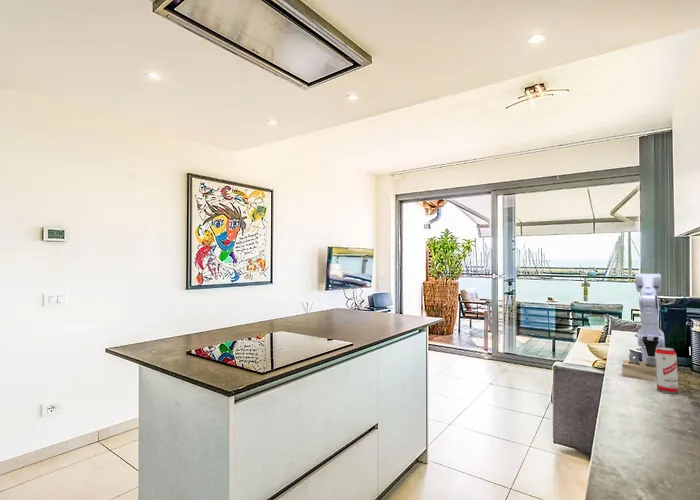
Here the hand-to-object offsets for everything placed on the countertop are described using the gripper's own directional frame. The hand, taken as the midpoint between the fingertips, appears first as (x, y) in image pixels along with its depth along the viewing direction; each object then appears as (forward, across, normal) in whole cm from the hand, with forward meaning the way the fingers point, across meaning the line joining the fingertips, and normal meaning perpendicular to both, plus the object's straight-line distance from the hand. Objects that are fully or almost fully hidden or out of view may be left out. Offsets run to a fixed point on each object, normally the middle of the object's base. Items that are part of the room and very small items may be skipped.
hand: (651, 355), depth 161 cm
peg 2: (+6, 0, 0) cm, 6 cm away
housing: (+9, 0, -4) cm, 10 cm away
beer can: (+10, +20, +4) cm, 22 cm away
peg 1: (+6, 0, -6) cm, 9 cm away
